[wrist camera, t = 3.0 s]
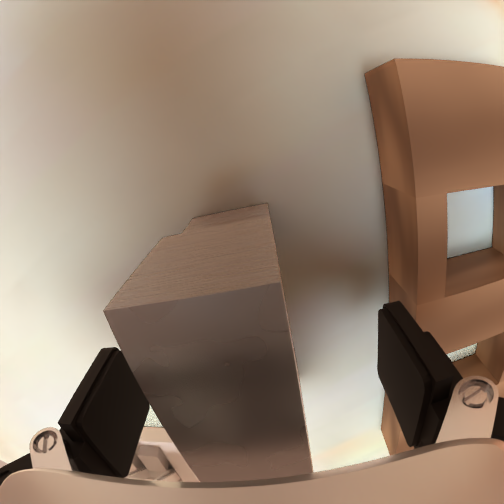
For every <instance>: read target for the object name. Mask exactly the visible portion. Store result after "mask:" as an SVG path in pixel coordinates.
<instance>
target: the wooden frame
mask: <svg viewBox="0 0 504 504" xmlns="http://www.w3.org/2000/svg"><path fill="white" fill-rule="evenodd" d="M365 79H366V83H367V88H368V93H369V98H370V103H371V108H372V114H373V119H374V125H375V131H376V137H377V144H378V151H379V158H380V166H381V174H382V182H383V191H384V202H385V213H386V226H387V242H388V264H389V303H391V302H395V301H400V302H401V303H402V304H403V305H404V307H405V308H406V309H407V311H408V312H409V313H410V315H411V316H412V317H413V318H414V320H415V321H416V322H417V324H418V325H419V327H420V328H421V329H422V331H423V332H425V331H428V332H430V333H431V334H432V336H433V337H434V338H435V340H436V341H437V342H438V344H439V345H440V347H441V348H442V349H443V351H444V352H445V353H446V354H448V353H451V352H454V351H457V350H459V349H462V348H465V347H467V346H470V345H473V344H475V343H478V345H477V349H476V353H475V354H474V355H471V356H468V357H466V358H463V359H461V360H458V361H455V362H453V364H454V366H455V367H456V369H457V370H458V372H459V373H460V374H461V376H462V377H463V379H464V378H466V377H469V376H482V377H486V378H488V379H490V380H491V381H492V382H493V383H494V384H495V385H496V386H497V389H498V395H499V397H503V398H504V67H502V66H495V65H488V64H480V63H472V62H462V61H450V60H434V59H393V60H391V61H389V62H387V63H385V64H383V65H381V66H379V67H377V68H375V69H373V70H371V71H369V72H367V73H365ZM491 186H494V223H493V242H492V247H491V248H487V249H484V250H480V251H476V252H472V253H468V254H465V255H461V256H457V257H453V258H449V259H447V193H451V192H458V191H464V190H471V189H477V188H484V187H491ZM381 431H382V433H383V436H384V439H385V442H386V445H387V448H388V451H389V454H390V456H391V455H394V454H398V453H401V452H405V451H409V450H413V449H414V446H412V447H409V446H408V445H407V442H406V440H405V437H404V435H403V432H402V430H401V427H400V425H399V422H398V420H397V418H396V415H395V413H394V410H393V408H392V406H391V403H390V401H389V399H388V396H387V394H386V392H385V399H384V408H383V417H382V425H381Z"/></svg>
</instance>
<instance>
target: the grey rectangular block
mask: <svg viewBox="0 0 504 504" xmlns="http://www.w3.org/2000/svg"><path fill="white" fill-rule="evenodd" d="M103 311H104V314H105V316H106V318H107V320H108V323H109V325H110V327H111V329H112V332H113V334H114V336H115V338H116V340H117V342H118V344H119V346H120V349H121V351H122V353H123V355H124V357H125V359H126V361H127V363H128V365H129V367H130V369H131V371H132V372H133V374H134V376H135V378H136V380H137V382H138V384H139V386H140V387H141V389H142V391H143V393H144V395H145V397H146V398H147V400H148V402H149V404H150V405H151V407H152V409H153V411H154V412H155V414H156V416H157V417H158V419H159V421H160V422H161V424H162V426H163V427H164V429H165V430H166V432H167V434H168V435H169V437H170V438H171V440H172V442H173V443H174V445H175V446H176V448H177V449H178V451H179V452H180V454H181V455H182V457H183V458H184V460H185V461H186V463H187V464H188V465H189V467H190V468H191V470H192V471H193V473H194V474H195V475H196V477H197V478H198V480H199V481H200V482H229V481H247V480H259V479H270V478H279V477H287V476H295V475H302V474H308V473H313V466H312V459H311V452H310V445H309V438H308V431H307V425H306V418H305V412H304V405H303V399H302V392H301V386H300V379H299V373H298V367H297V361H296V355H295V350H294V347H293V341H292V335H291V329H290V324H289V318H288V312H287V307H286V301H285V296H284V290H283V284H282V278H281V272H280V267H279V261H278V255H277V250H276V244H275V239H274V234H273V229H272V224H271V219H270V213H269V208H268V203H265V204H260V205H255V206H250V207H245V208H240V209H235V210H230V211H225V212H220V213H215V214H210V215H206V216H201V217H196V218H193V219H192V220H191V221H190V223H189V224H188V226H187V227H186V228H185V230H184V231H183V233H181V234H177V235H172V236H167V237H163V238H162V239H161V240H160V241H159V242H158V243H157V245H156V246H155V247H154V248H153V249H152V250H151V252H150V253H149V254H148V255H147V256H146V258H145V259H144V260H143V261H142V262H141V264H140V265H139V266H138V267H137V269H136V270H135V271H134V272H133V274H132V275H131V276H130V277H129V278H128V280H127V281H126V282H125V283H124V285H123V286H122V287H121V289H120V290H119V291H118V292H117V294H116V295H115V296H114V297H113V299H112V300H111V301H110V303H109V304H108V305H107V306H106V308H105V309H104V310H103Z"/></svg>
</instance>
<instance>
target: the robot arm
mask: <svg viewBox="0 0 504 504" xmlns="http://www.w3.org/2000/svg"><path fill="white" fill-rule="evenodd" d="M377 369H378V375H379V378H380V380H381V383H382V385H383V387H384V389H385V392H386V394H387V396H388V399H389V401H390V403H391V406H392V408H393V410H394V413H395V415H396V418H397V420H398V422H399V425H400V427H401V430H402V432H403V435H404V437H405V440H406V442H407V445H408V446H409V447H412V446H414V449H413V450H409V451H405V452H401V453H398V454H394V455H391V456H387V457H383V458H380V459H376V460H372V461H368V462H363V463H359V464H354V465H350V466H345V467H341V468H336V469H331V470H326V471H320V472H314V473H308V474H302V475H295V476H287V477H279V478H270V479H259V480H247V481H229V482H168V481H150V480H138V479H128V478H124V477H127V476H128V474H129V471H130V468H131V464H132V461H133V458H134V455H135V452H136V448H137V445H138V442H139V439H140V436H141V433H142V430H143V427H144V424H145V421H146V418H147V415H148V412H149V407H150V406H149V402H148V400H147V398H146V397H145V395H144V393H143V391H142V389H141V387H140V386H139V384H138V382H137V380H136V378H135V376H134V374H133V372H132V371H131V369H130V367H129V365H128V363H127V361H126V359H125V357H124V355H123V353H122V351H119V349H118V348H116V347H112V348H103V349H101V350H100V352H99V353H98V355H97V357H96V358H95V360H94V362H93V363H92V365H91V366H90V368H89V370H88V371H87V373H86V375H85V376H84V378H83V380H82V381H81V383H80V385H79V386H78V388H77V390H76V392H75V393H74V395H73V397H72V398H71V400H70V402H69V404H68V405H67V407H66V409H65V411H64V412H63V414H62V416H61V418H60V420H59V421H58V424H59V425H60V427H61V429H60V431H59V430H57V429H56V428H53V427H48V428H44V429H42V430H40V431H38V432H37V433H36V434H35V435H34V436H33V438H32V439H31V442H30V448H29V449H30V453H29V454H27V455H25V456H23V457H21V458H19V459H17V460H15V461H13V462H11V463H9V464H7V465H5V466H3V467H2V468H0V504H504V398H503V397H499V395H498V389H497V386H496V385H495V384H494V383H493V382H492V381H491V380H490V379H488V378H486V377H482V376H469V377H466V378H464V379H463V377H462V376H461V374H460V373H459V372H458V370H457V369H456V367H455V366H454V364H453V363H452V362H451V360H450V359H449V357H448V356H447V355H446V353H445V352H444V351H443V349H442V348H441V347H440V345H439V344H438V342H437V341H436V340H435V338H434V337H433V336H432V334H431V333H430V332H428V331H425V332H423V331H422V329H421V328H420V327H419V325H418V324H417V322H416V321H415V320H414V318H413V317H412V316H411V315H410V313H409V312H408V311H407V309H406V308H405V307H404V305H403V304H402V303H401V302H400V301H395V302H391V303H387V304H384V305H383V309H380V310H379V311H378V365H377Z"/></svg>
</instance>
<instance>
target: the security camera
mask: <svg viewBox="0 0 504 504" xmlns="http://www.w3.org/2000/svg"><path fill="white" fill-rule="evenodd" d="M124 478H128V479H138V480H150V481H168V482H200V481H199V480H198V478H197V477H196V475H195V474H194V473H193V471H192V470H191V468H190V467H189V465H188V464H187V463H186V461H185V460H184V458H183V457H182V455H181V454H180V452H179V451H178V449H177V448H176V446H175V445H174V443H173V442H172V440H171V438H170V437H169V435H168V434H167V432H166V430H165V429H164V428H162V427H143V430H142V433H141V436H140V439H139V442H138V445H137V448H136V452H135V455H134V458H133V461H132V464H131V468H130V471H129V474H128V476H127V477H124Z"/></svg>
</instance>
